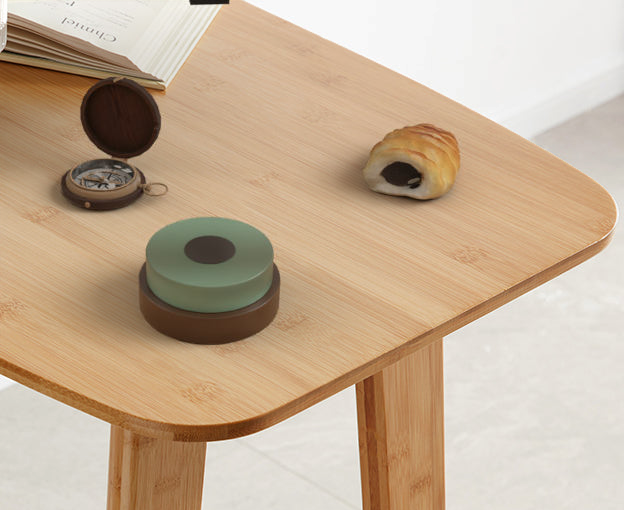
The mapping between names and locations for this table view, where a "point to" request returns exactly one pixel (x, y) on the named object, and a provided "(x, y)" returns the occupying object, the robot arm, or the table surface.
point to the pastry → (414, 162)
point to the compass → (114, 145)
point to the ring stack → (209, 281)
